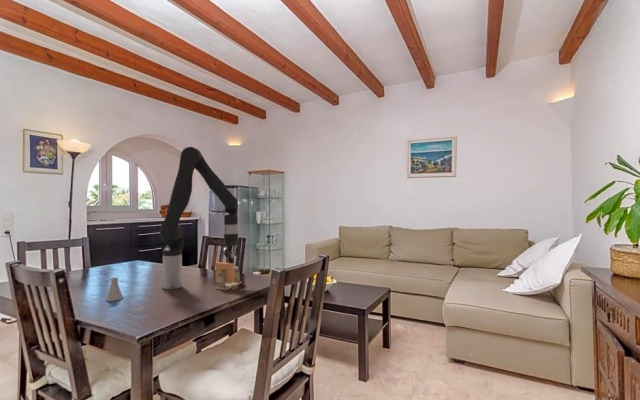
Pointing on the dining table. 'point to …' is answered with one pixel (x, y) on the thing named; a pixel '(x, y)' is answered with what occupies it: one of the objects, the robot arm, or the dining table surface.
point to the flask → (114, 291)
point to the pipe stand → (222, 280)
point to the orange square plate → (229, 271)
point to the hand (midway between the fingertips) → (231, 264)
